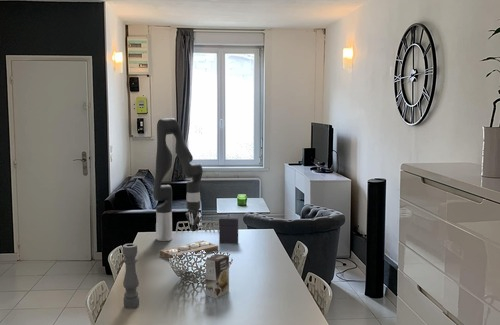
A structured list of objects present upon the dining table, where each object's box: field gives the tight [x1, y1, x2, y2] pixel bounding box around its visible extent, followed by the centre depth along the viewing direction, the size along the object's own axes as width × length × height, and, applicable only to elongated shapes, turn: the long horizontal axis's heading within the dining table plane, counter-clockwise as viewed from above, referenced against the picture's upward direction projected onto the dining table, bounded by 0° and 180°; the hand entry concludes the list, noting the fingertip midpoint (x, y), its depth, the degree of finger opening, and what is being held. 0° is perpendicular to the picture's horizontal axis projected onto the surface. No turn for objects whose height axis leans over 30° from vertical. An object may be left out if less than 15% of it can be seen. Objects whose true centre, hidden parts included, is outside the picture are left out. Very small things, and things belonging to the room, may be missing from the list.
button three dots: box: [189, 242, 199, 249], centre depth 271 cm, size 5×5×3 cm
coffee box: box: [205, 253, 230, 299], centre depth 210 cm, size 9×6×16 cm
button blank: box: [179, 244, 189, 251], centre depth 266 cm, size 5×5×2 cm
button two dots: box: [169, 249, 178, 254], centre depth 261 cm, size 5×5×3 cm
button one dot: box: [200, 241, 210, 246], centre depth 275 cm, size 5×5×3 cm
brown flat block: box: [159, 240, 219, 260], centre depth 268 cm, size 14×29×3 cm, turn 132°
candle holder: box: [122, 242, 140, 310], centre depth 196 cm, size 6×6×25 cm
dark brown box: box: [218, 217, 239, 245], centre depth 288 cm, size 11×4×15 cm, turn 84°
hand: (193, 231), depth 269 cm, fingers closed
